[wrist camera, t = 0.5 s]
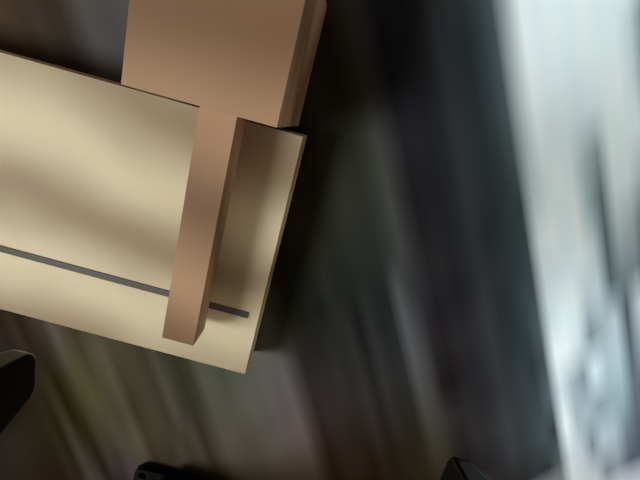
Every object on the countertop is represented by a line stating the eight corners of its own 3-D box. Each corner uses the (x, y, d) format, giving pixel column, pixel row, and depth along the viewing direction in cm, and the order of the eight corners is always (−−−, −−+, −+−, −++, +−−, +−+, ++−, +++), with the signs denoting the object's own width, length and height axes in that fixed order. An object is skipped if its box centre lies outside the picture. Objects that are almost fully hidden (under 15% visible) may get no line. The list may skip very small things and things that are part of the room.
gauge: (253, 313, 21) (218, 386, 15) (162, 288, 21) (93, 352, 15) (332, -15, 16) (325, -90, 10) (215, -48, 16) (143, -143, 10)
